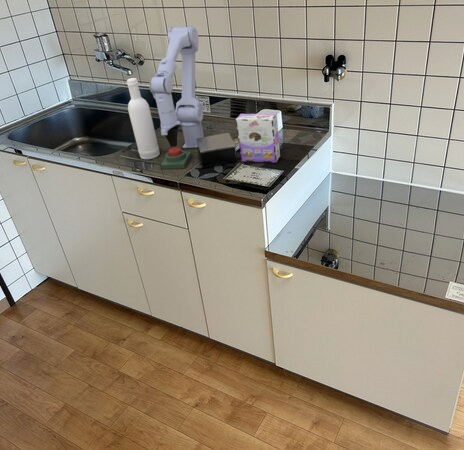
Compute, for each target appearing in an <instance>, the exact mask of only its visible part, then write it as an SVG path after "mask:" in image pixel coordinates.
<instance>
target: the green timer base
mask: <svg viewBox="0 0 464 450" xmlns="http://www.w3.org/2000/svg"><path fill="white" fill-rule="evenodd" d="M180 150H181V155H179V156H174V157H171V156H170V155H169V151H168V152H166V153H165V157H164V159H163V161H162V162H161V163H160V168H161V170H169V169H170V170H172V169H186V167H187V165H188V163H189V162H190V160H191V158H192V151H190V150H189V151H185V150H184V149H181V148H180Z"/></svg>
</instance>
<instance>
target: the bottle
mask: <svg viewBox="0 0 464 450" xmlns="http://www.w3.org/2000/svg"><path fill="white" fill-rule="evenodd" d="M126 85H127V87H128V92H129V96H130V100H129V102H128V103H127V111H128V115H129V119H130V123H131V126H132V130H133V135H134V139H135V142H136V146H137V151H138V154H139V157H140V159H142V160H153V159H156V158H157V157H159V155H160V154H161V153H160V147H159V144H158V143H159V142H158V139H157V135H156V131H155V126H154V122H153V117H152V113H151V109H150V104H149V103H148V102H147V100H146V99H144V98H143V97H142V94H141V91H140V86H139V81H138V78H136V77H130V78H127V79H126Z"/></svg>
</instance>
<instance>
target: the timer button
mask: <svg viewBox="0 0 464 450" xmlns="http://www.w3.org/2000/svg"><path fill="white" fill-rule="evenodd" d="M180 149H181V148H180V147H172V148H170V149H168V152H169V155H170V156H171V157H174V156H179V155H181V150H182V149H181V150H180Z"/></svg>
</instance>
